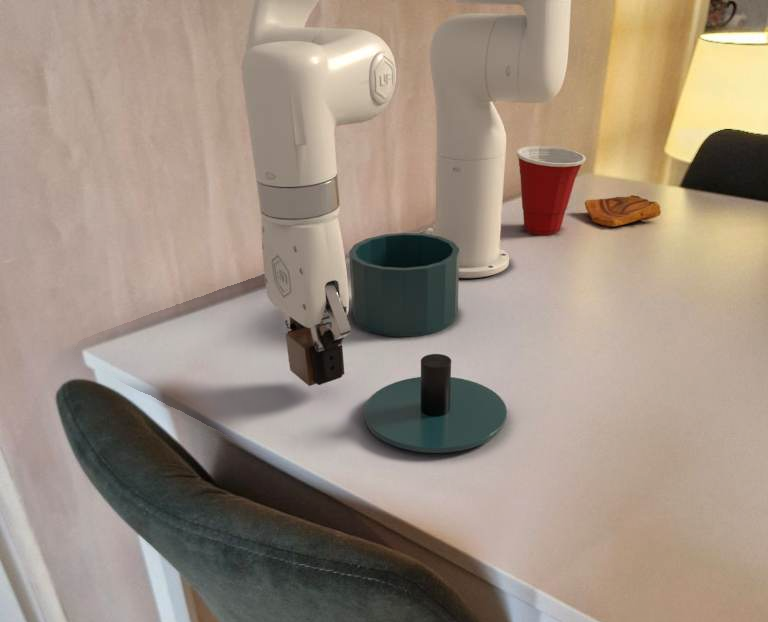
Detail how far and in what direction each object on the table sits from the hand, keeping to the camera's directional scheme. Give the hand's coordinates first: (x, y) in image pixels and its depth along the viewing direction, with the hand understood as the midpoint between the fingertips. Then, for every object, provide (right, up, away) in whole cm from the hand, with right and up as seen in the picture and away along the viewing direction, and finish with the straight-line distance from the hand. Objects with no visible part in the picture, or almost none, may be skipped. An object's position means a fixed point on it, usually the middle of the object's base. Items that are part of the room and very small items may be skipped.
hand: (316, 369), depth 83 cm
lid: (+13, -5, -4) cm, 14 cm away
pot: (+10, +10, +18) cm, 23 cm away
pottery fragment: (+47, +35, +48) cm, 75 cm away
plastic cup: (+34, +31, +44) cm, 63 cm away
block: (0, 0, 0) cm, 0 cm away
